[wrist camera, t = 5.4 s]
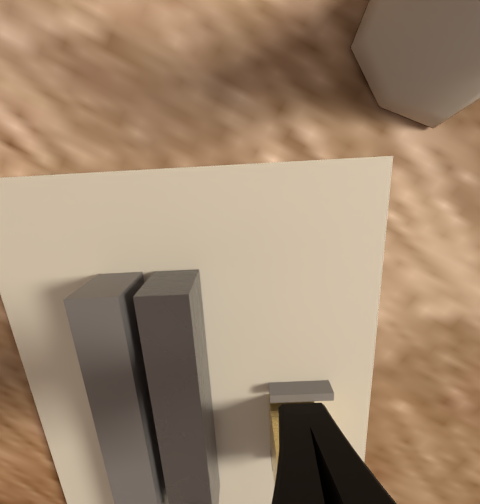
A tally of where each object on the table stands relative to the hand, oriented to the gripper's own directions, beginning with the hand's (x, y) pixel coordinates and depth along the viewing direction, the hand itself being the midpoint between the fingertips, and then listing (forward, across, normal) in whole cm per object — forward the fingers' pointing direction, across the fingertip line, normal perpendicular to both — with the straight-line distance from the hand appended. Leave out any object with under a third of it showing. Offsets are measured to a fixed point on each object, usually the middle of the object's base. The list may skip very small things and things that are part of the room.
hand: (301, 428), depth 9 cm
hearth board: (+8, +4, +4) cm, 10 cm away
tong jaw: (+7, +5, +5) cm, 10 cm away
